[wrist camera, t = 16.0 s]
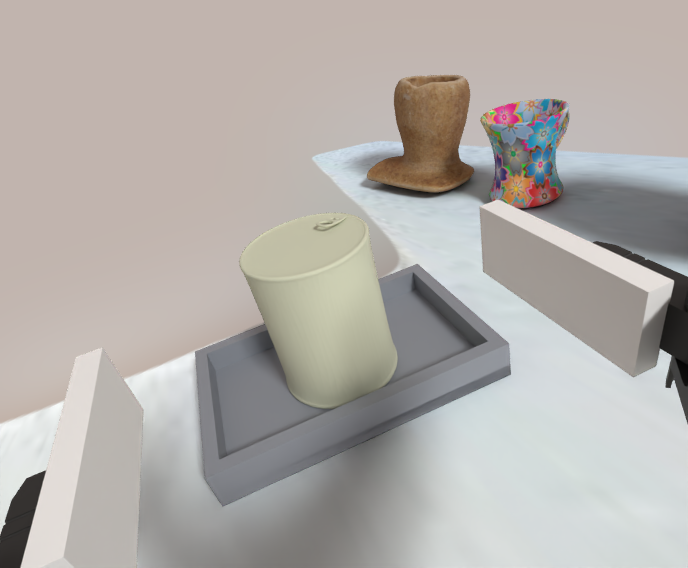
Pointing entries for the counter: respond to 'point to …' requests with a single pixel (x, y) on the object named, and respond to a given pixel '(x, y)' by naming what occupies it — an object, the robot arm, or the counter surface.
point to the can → (322, 307)
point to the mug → (526, 150)
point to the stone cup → (428, 134)
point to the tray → (349, 419)
